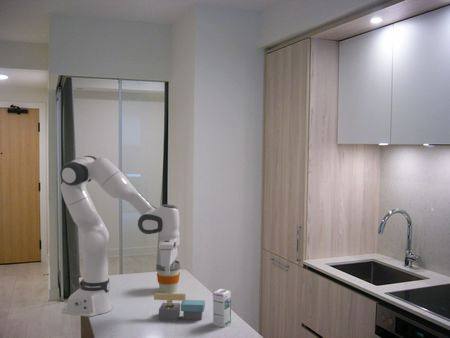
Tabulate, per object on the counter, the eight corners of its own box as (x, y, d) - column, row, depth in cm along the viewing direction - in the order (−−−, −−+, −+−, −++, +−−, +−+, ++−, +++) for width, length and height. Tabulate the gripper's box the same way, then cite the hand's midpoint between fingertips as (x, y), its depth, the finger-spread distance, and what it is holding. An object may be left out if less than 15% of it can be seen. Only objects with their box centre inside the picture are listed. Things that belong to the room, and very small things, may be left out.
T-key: (153, 317, 204) (153, 294, 203) (155, 315, 206) (154, 292, 205) (184, 318, 203) (184, 295, 202) (185, 316, 205) (185, 293, 204)
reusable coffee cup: (162, 296, 232) (162, 267, 231) (152, 289, 243) (152, 261, 242) (184, 291, 239) (184, 263, 238) (173, 285, 249) (173, 258, 249)
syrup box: (224, 327, 193) (224, 294, 192) (212, 324, 196) (212, 291, 195) (231, 323, 197) (231, 290, 197) (219, 320, 200) (219, 288, 200)
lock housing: (159, 320, 201) (159, 308, 200) (162, 313, 209) (162, 302, 208) (200, 321, 199) (200, 310, 199) (202, 314, 207) (203, 303, 207)
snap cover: (180, 311, 201) (180, 304, 201) (183, 306, 207) (183, 299, 207) (203, 311, 200) (203, 305, 200) (204, 306, 206) (204, 300, 206)
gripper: (167, 236, 213) (167, 265, 214) (157, 245, 193) (157, 278, 193) (180, 236, 213) (180, 265, 213) (172, 246, 192) (172, 278, 193)
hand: (169, 271), depth 203 cm, fingers open, 8 cm apart
